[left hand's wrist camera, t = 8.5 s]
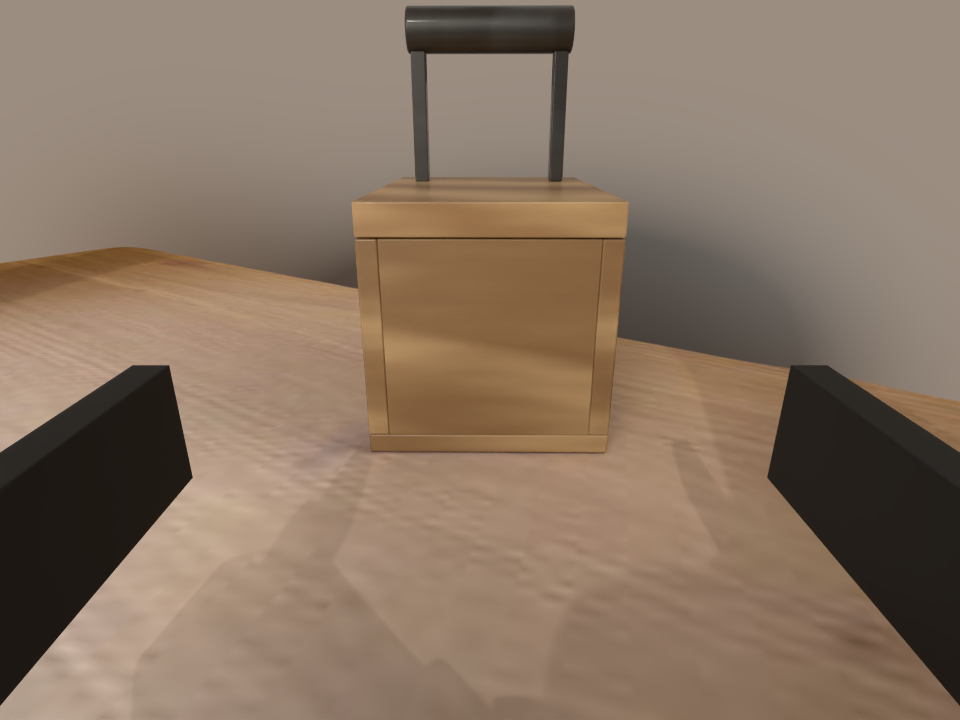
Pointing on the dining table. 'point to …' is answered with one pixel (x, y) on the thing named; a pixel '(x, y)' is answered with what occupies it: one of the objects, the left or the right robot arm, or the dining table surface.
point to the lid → (489, 200)
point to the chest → (489, 342)
